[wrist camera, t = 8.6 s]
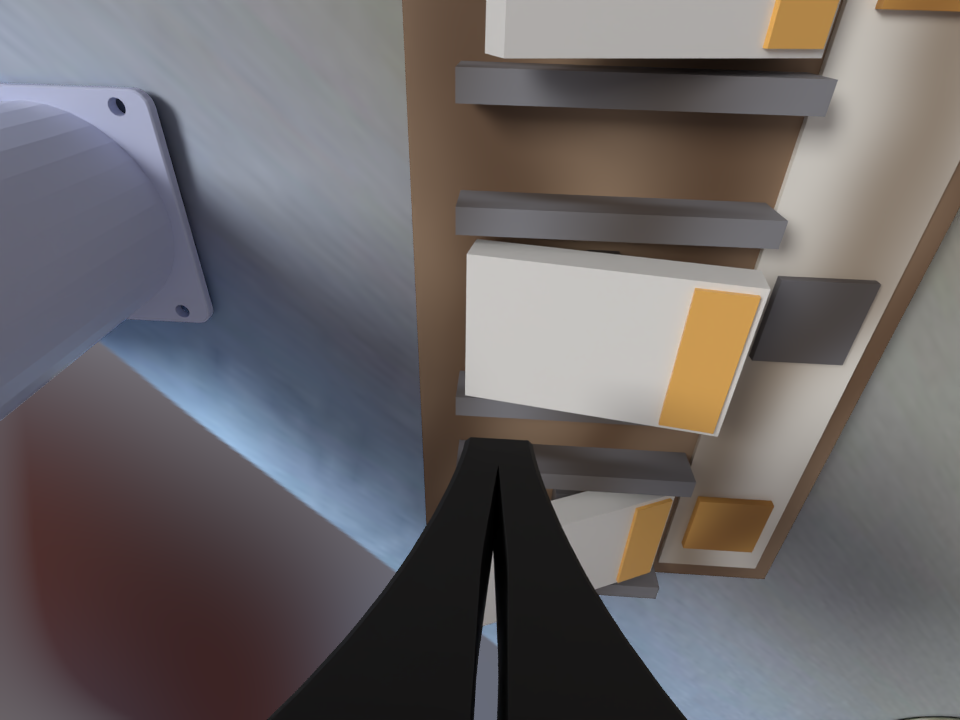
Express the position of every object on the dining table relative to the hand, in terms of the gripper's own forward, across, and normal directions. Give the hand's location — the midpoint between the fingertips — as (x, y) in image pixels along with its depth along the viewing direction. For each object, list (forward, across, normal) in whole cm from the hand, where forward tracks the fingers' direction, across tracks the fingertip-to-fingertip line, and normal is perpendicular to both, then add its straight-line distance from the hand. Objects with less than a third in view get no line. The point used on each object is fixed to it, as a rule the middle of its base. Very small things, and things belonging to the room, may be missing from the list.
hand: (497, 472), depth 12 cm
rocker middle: (+6, -3, 0) cm, 7 cm away
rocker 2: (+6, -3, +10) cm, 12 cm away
